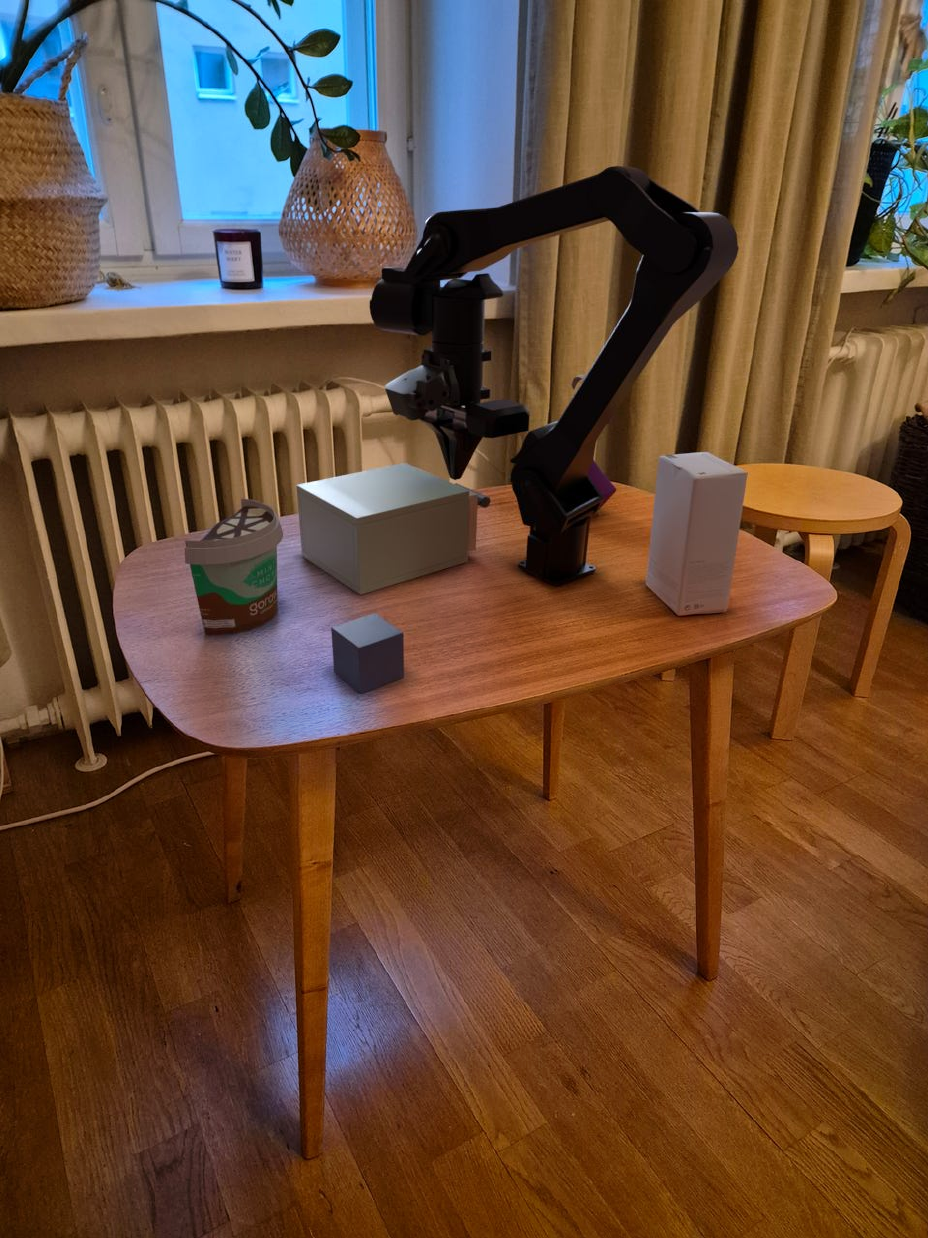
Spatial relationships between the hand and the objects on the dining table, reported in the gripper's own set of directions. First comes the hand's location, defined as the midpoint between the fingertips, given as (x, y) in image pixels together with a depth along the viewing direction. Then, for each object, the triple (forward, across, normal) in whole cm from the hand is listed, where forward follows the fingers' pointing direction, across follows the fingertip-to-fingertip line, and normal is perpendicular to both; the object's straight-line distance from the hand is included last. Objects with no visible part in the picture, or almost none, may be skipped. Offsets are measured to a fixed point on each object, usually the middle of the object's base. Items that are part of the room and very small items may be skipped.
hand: (455, 478), depth 94 cm
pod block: (+8, +20, -25) cm, 33 cm away
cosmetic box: (+8, +27, +10) cm, 30 cm away
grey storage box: (+8, 0, -10) cm, 13 cm away
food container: (+8, +4, -28) cm, 30 cm away
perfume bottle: (+8, +2, +19) cm, 21 cm away
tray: (+7, 0, -6) cm, 9 cm away
